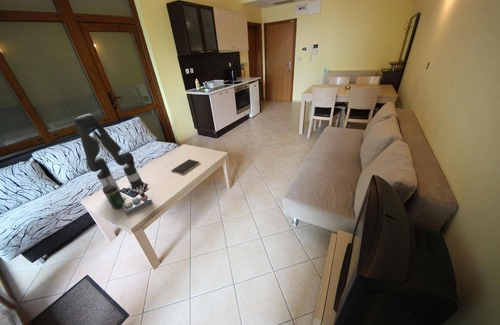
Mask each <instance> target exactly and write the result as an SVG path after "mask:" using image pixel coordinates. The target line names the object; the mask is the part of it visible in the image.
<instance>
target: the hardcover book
mask: <svg viewBox="0 0 500 325" xmlns="http://www.w3.org/2000/svg"><path fill="white" fill-rule="evenodd" d="M199 164H200V161H198V160H192V159H190V158H189V159H187V160H185V161H184V162H182V163H180V164H179V165H177V166H176V167H174V168H172V169H171V172H172V173H175V174H179V175H182V176H184V175H185V174H187V172H189V171H191V170H192V169H193V168H195V167H196V166H198V165H199Z"/></svg>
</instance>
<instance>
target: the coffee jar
mask: <svg viewBox="0 0 500 325" xmlns="http://www.w3.org/2000/svg"><path fill="white" fill-rule="evenodd" d="M102 187H103V186H102ZM102 192H103V194H104V196H105V197H106V198H107V200H108V202H109V203H110V205H111V207H112V208H113V209H115V210H119V209H122V208H124V207H123V205H122V204H123V203H125V202H126V201H125V200H124V198H123V196H122V194H121V193H120V192H119V191H118V189H117V187H116V186H114V185H107V186H105V187H103V188H102Z"/></svg>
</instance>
